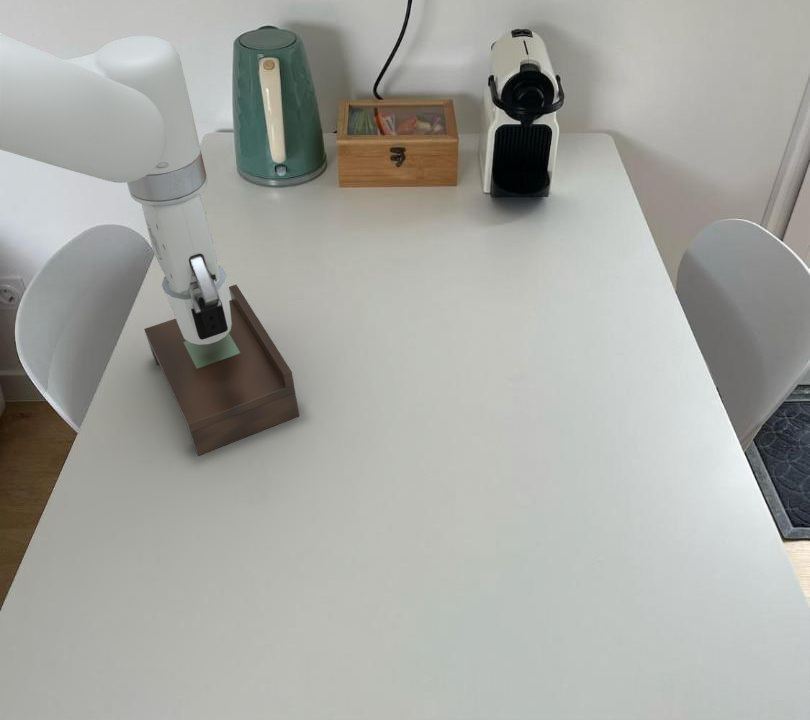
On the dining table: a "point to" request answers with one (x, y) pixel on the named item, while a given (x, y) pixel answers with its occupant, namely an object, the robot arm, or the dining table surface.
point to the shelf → (226, 378)
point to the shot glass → (184, 305)
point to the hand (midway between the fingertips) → (202, 314)
